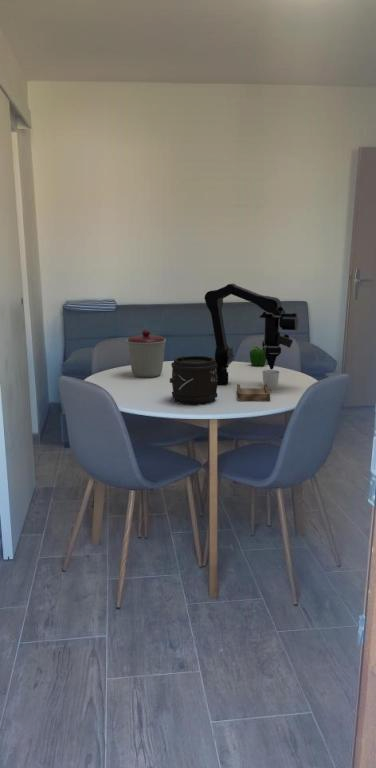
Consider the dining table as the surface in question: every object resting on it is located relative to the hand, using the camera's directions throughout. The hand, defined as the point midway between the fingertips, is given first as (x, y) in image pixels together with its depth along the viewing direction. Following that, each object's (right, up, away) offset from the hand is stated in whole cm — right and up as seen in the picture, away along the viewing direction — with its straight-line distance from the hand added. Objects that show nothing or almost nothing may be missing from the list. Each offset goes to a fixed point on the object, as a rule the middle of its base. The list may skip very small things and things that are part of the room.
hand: (270, 367), depth 242 cm
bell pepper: (+1, +2, +49) cm, 49 cm away
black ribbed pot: (-32, -13, -16) cm, 38 cm away
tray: (-9, -12, -11) cm, 18 cm away
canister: (-53, -3, +28) cm, 60 cm away
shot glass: (0, -9, +2) cm, 9 cm away
